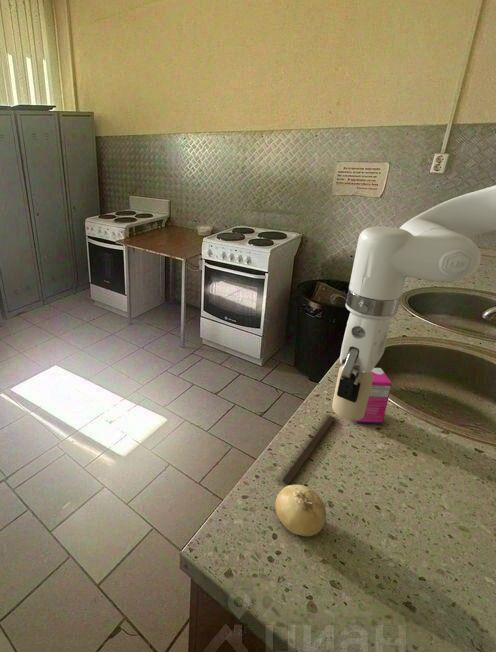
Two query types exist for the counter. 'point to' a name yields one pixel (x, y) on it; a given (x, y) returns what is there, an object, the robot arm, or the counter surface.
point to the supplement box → (377, 398)
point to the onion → (300, 510)
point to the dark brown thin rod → (308, 450)
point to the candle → (359, 407)
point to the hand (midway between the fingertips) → (352, 389)
